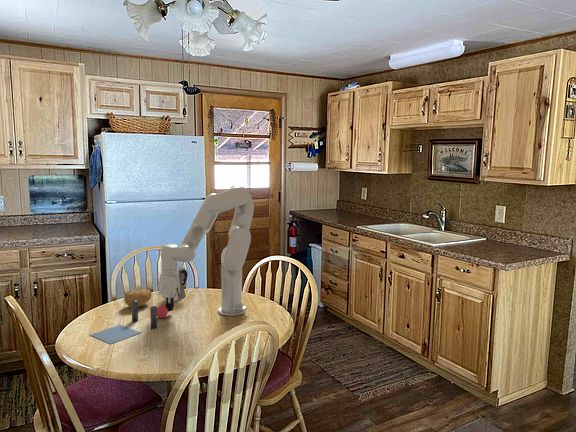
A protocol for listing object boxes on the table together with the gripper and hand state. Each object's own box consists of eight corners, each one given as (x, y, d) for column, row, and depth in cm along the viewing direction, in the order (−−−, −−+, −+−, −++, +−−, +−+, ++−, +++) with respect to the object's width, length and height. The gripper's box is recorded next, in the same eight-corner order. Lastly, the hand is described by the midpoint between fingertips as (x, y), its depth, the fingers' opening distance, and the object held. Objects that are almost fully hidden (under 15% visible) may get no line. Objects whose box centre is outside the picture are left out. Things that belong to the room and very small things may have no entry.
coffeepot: (160, 296, 230) (160, 262, 228) (175, 292, 238) (175, 259, 235) (179, 302, 221) (179, 267, 219) (194, 298, 228) (194, 264, 226)
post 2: (158, 327, 189) (158, 306, 188) (153, 329, 187) (153, 308, 186) (154, 325, 190) (154, 305, 189) (149, 327, 188) (149, 307, 187)
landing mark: (141, 332, 182) (141, 332, 182) (110, 344, 171) (110, 343, 171) (120, 325, 190) (120, 324, 190) (89, 335, 179) (89, 334, 179)
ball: (166, 304, 198) (158, 313, 195) (172, 312, 201) (163, 321, 198) (159, 302, 202) (150, 310, 198) (164, 310, 204) (156, 319, 201)
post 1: (139, 320, 196) (139, 300, 195) (134, 322, 194) (134, 302, 193) (135, 319, 197) (135, 299, 196) (130, 320, 195) (130, 301, 194)
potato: (156, 304, 217) (156, 288, 216) (132, 312, 206) (132, 295, 205) (143, 300, 223) (143, 285, 222) (119, 308, 211) (119, 291, 210)
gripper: (152, 270, 203) (152, 309, 205) (174, 276, 194) (173, 316, 196) (165, 267, 209) (165, 305, 211) (187, 273, 200) (186, 312, 203)
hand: (169, 310), depth 204 cm, fingers closed
